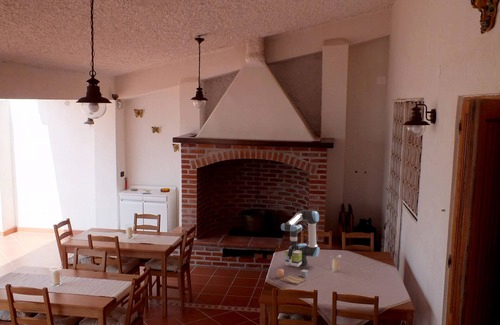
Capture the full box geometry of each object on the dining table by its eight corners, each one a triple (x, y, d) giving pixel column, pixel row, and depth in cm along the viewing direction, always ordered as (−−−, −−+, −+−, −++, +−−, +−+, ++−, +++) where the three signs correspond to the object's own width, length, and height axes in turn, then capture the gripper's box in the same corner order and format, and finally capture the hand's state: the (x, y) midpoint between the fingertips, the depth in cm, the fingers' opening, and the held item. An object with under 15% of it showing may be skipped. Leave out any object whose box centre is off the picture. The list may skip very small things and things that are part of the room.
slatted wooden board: (289, 276, 481) (289, 274, 481) (305, 280, 468) (305, 279, 468) (281, 280, 469) (281, 279, 469) (297, 285, 456) (297, 283, 456)
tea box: (284, 264, 466) (284, 251, 464) (288, 261, 474) (288, 248, 473) (298, 267, 458) (298, 253, 457) (302, 264, 467) (302, 250, 466)
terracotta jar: (279, 275, 483) (279, 268, 482) (285, 277, 478) (285, 269, 477) (275, 277, 477) (275, 270, 476) (281, 279, 473) (281, 271, 472)
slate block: (303, 274, 485) (303, 269, 484) (308, 275, 481) (308, 270, 481) (300, 276, 481) (300, 270, 480) (305, 277, 477) (305, 272, 476)
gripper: (296, 237, 475) (296, 257, 477) (284, 242, 457) (284, 262, 459) (302, 238, 470) (302, 258, 472) (290, 243, 452) (290, 264, 455)
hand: (293, 260), depth 466 cm, fingers closed on tea box, 11 cm apart
